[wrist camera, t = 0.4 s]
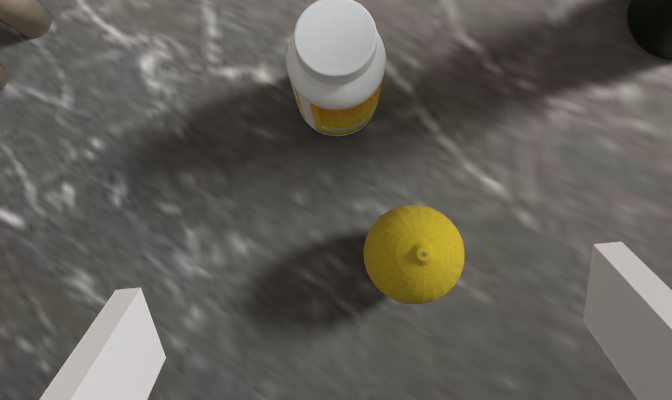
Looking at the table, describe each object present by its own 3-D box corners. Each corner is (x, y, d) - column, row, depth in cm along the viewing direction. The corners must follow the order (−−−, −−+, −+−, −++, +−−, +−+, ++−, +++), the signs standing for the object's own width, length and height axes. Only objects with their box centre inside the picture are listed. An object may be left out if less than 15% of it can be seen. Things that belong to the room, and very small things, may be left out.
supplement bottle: (281, 102, 32) (254, 38, 23) (335, 45, 33) (330, -41, 23) (340, 154, 32) (338, 112, 22) (394, 96, 32) (414, 30, 23)
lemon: (352, 285, 31) (354, 296, 23) (372, 202, 31) (380, 185, 23) (437, 306, 31) (468, 325, 23) (455, 222, 31) (492, 211, 23)
